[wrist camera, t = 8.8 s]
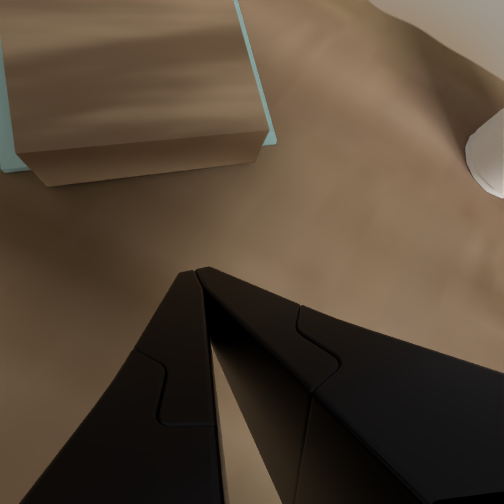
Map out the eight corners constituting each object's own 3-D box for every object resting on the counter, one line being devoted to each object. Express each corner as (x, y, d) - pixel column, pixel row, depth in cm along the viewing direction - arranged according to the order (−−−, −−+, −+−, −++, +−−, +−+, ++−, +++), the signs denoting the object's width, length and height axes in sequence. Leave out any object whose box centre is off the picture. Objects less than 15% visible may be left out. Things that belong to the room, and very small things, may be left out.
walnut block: (269, 130, 17) (220, -48, 19) (15, 153, 14) (-13, -64, 16) (254, 161, 20) (213, 8, 22) (47, 186, 17) (21, 4, 19)
